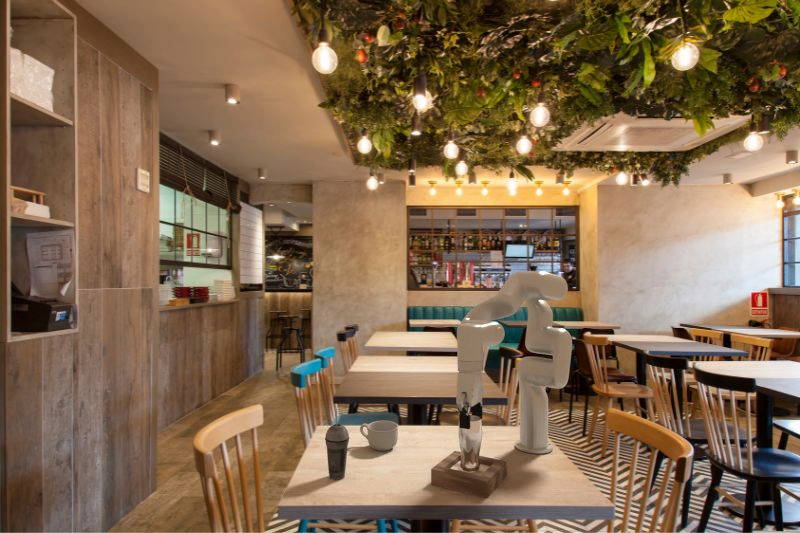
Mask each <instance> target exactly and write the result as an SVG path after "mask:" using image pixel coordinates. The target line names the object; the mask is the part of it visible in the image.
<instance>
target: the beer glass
mask: <svg viewBox="0 0 800 533" xmlns="http://www.w3.org/2000/svg"><path fill="white" fill-rule="evenodd" d="M469 415H470V429H463V428H460V427H459V426H458V431H457V433H458V435H457V437H458V443H459V444H458V445H459V450H460V452H461V463H460V470H461V471H464V472H468V473H477V472H479V471H480V469H481V468H480V462H479V456H480V452H481V447H482V440H483V423H482V419H481V417H479V416H475V415H472V414H469Z"/></svg>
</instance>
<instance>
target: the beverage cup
mask: <svg viewBox="0 0 800 533" xmlns="http://www.w3.org/2000/svg"><path fill="white" fill-rule="evenodd" d="M334 412H335V413H334V414H335V415H334V416H335V417H334V418H335V423H334V424H332V425H331V426H330V427H329V428H328V429H327V431H326V432H325V438H324V440H325V446H326V453H327V454H326V455H327V457H326V458H327V467H328V470H327V471H328V476H329V477H328V478H329V480H332V481H341V480H343V479H345V476H346V468H347V466H346V465H347V456H348V446H349V443H350V442H349V441H350V435H349V431H348V428H346V426H344V425H342V424H341V423H338V408H334Z"/></svg>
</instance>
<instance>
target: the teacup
mask: <svg viewBox="0 0 800 533" xmlns="http://www.w3.org/2000/svg"><path fill="white" fill-rule="evenodd" d="M364 427H365V428H366V430H367V433H366V432H365V430H364ZM398 430H399V424H398V423H396V422H395V421H391V420H376V421H372V422H370V423H362V424H360V427H359V432H360V434H361V435H362V436H363V437H364V438H365V439H366V440H367V441H368V445H369V446H370V447H372V449H374V450H375V451H378V452H386V451H390V450H392V449H393V448H394V447H395V446H396V445H397V443H398V439H399V438H398V437H399V431H398Z"/></svg>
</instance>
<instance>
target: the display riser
mask: <svg viewBox="0 0 800 533" xmlns="http://www.w3.org/2000/svg"><path fill="white" fill-rule="evenodd" d="M479 462H480V468H481V469H480V471H479V472H477V473H468V472H464V471H461V470H460V463H461V451H457V450H454V451H452V452H451V453H449V455H447V456H446V457H445V458H443V459H442V460H441V461H439V462H438V463H437V464H436V465H434V466H433V467H431V469H430V485H432V486H435V487H439V488H443V489H448V490H452V491H456V492H461V493H464V494H469V495H473V496H477V497H481V498H485V499H488V498H490V496H491V495H492V494H493V492H494V491H495V490H496V489H497V488H498V487H499V486H500V485H501V484H502V483H503V481H504V480H505V479H506V478H507V477H508V461H507V460H503V459H499V458H495V457H494V458H493V457H489V456H482V455H479Z"/></svg>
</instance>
